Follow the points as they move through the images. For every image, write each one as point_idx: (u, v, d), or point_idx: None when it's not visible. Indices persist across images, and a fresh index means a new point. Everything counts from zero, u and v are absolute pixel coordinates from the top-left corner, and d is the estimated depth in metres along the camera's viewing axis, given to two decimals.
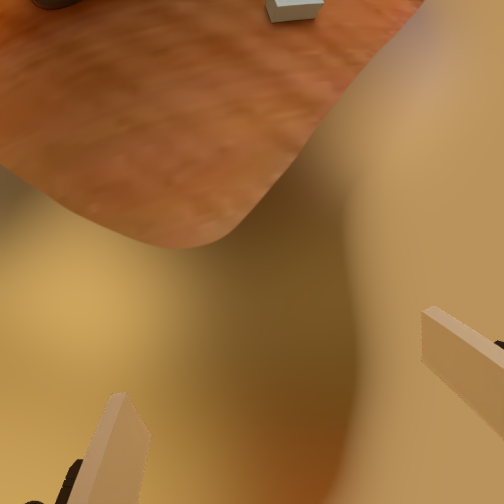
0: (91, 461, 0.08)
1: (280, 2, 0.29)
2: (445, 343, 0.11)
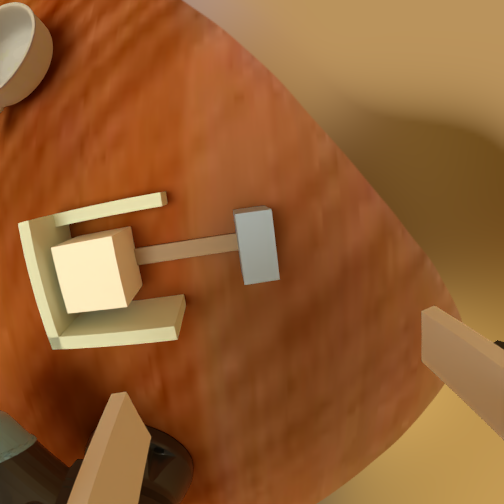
0: (91, 461, 0.08)
1: (271, 274, 0.28)
2: (445, 343, 0.11)
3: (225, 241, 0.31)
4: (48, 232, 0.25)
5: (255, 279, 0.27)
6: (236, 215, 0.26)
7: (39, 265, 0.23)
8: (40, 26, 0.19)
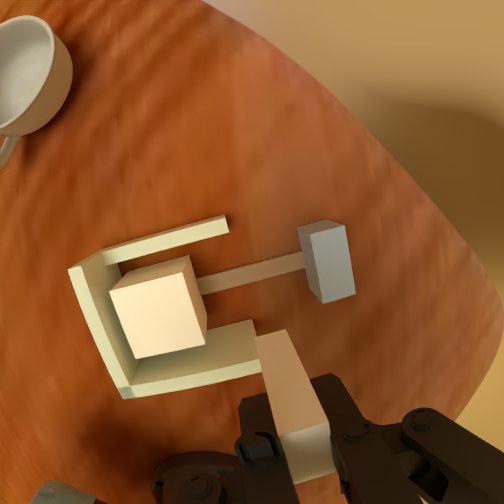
0: (276, 387, 0.10)
1: (347, 290, 0.26)
2: None
3: (292, 260, 0.30)
4: (100, 273, 0.24)
5: (333, 297, 0.26)
6: (311, 235, 0.25)
7: (99, 313, 0.22)
8: (58, 41, 0.19)
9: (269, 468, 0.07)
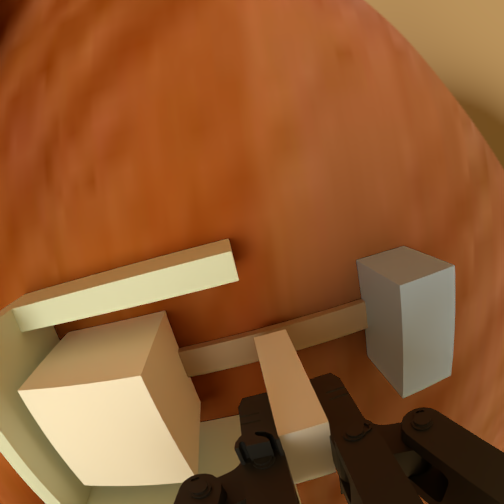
0: (276, 387, 0.10)
1: (441, 371, 0.13)
2: None
3: (347, 317, 0.16)
4: (7, 350, 0.11)
5: (419, 386, 0.13)
6: (402, 287, 0.12)
7: (6, 430, 0.09)
8: None
9: (269, 468, 0.07)
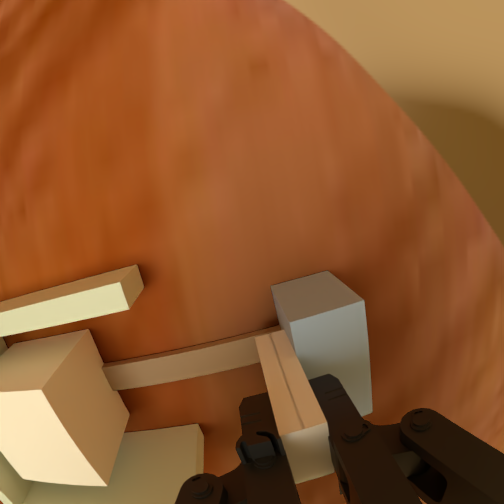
0: (277, 387, 0.10)
1: (358, 409, 0.13)
2: None
3: None
4: None
5: None
6: (293, 324, 0.12)
7: None
8: None
9: (270, 468, 0.07)
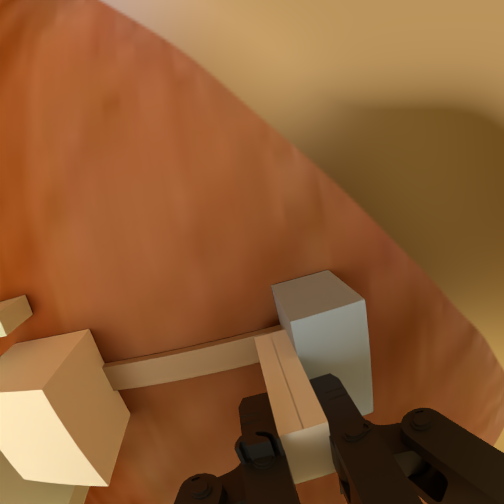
0: (277, 387, 0.10)
1: (359, 408, 0.13)
2: None
3: None
4: None
5: None
6: (293, 324, 0.12)
7: None
8: None
9: (270, 468, 0.07)
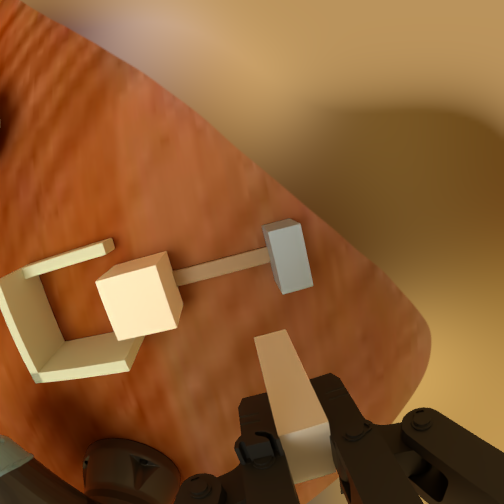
0: (276, 387, 0.10)
1: (305, 282, 0.30)
2: None
3: (257, 255, 0.33)
4: (18, 285, 0.27)
5: (291, 288, 0.30)
6: (269, 233, 0.29)
7: (13, 316, 0.25)
8: None
9: (269, 468, 0.07)
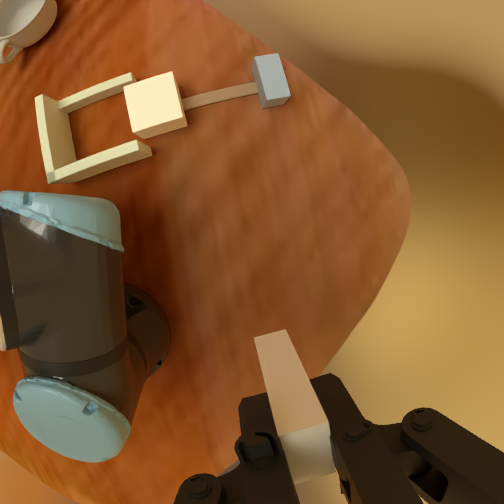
0: (276, 387, 0.10)
1: (284, 92, 0.36)
2: None
3: (248, 87, 0.39)
4: (54, 108, 0.33)
5: (273, 96, 0.36)
6: (255, 57, 0.34)
7: (46, 121, 0.31)
8: None
9: (269, 468, 0.07)
